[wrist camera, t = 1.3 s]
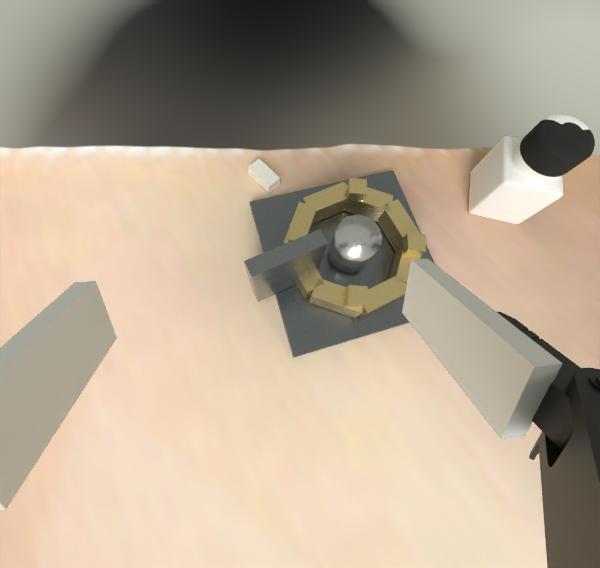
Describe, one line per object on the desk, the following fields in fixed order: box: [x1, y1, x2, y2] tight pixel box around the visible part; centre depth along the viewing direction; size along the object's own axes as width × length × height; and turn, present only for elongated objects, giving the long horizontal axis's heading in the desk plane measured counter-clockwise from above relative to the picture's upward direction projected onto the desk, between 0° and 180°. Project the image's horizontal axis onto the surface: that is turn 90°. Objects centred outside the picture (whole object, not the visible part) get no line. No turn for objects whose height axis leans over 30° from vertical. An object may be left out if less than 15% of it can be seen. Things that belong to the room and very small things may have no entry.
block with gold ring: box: [244, 178, 426, 318], centre depth 32 cm, size 20×15×9 cm
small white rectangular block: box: [248, 159, 280, 193], centre depth 40 cm, size 4×2×2 cm, turn 45°
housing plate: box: [250, 171, 434, 358], centre depth 35 cm, size 20×20×6 cm
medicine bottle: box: [468, 114, 595, 224], centre depth 37 cm, size 7×7×12 cm
